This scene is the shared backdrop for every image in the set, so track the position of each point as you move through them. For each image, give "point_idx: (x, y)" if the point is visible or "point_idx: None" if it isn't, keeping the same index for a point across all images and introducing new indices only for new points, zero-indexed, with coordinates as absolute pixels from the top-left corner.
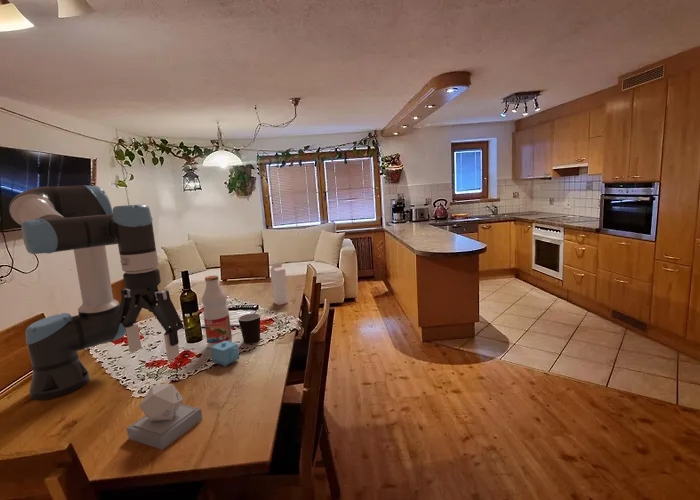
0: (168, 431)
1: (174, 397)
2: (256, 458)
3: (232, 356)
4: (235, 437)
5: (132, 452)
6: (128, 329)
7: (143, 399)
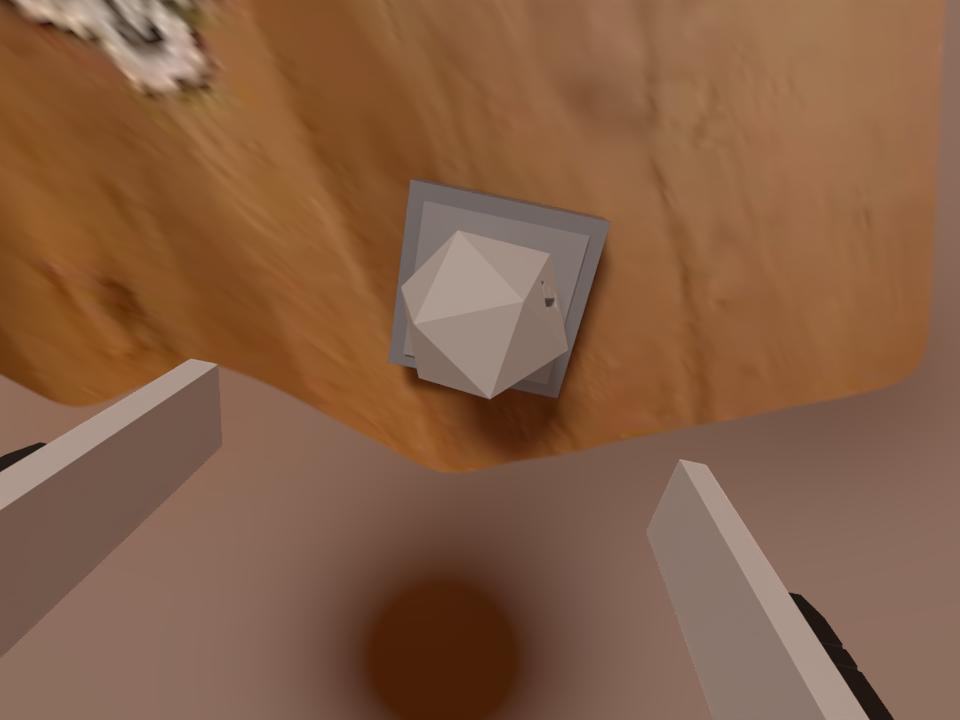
0: (561, 366)
1: (555, 327)
2: (891, 383)
3: None
4: (787, 302)
5: (465, 395)
6: (9, 645)
7: (420, 365)
